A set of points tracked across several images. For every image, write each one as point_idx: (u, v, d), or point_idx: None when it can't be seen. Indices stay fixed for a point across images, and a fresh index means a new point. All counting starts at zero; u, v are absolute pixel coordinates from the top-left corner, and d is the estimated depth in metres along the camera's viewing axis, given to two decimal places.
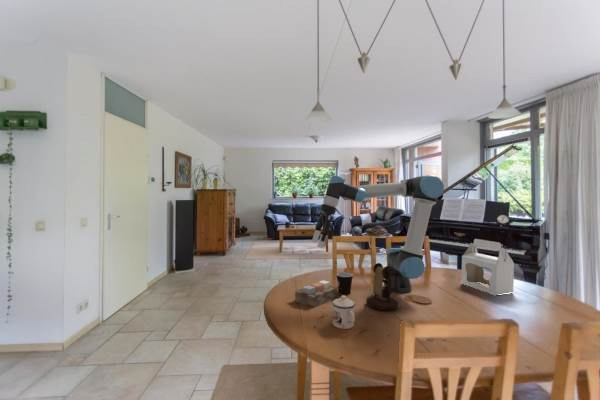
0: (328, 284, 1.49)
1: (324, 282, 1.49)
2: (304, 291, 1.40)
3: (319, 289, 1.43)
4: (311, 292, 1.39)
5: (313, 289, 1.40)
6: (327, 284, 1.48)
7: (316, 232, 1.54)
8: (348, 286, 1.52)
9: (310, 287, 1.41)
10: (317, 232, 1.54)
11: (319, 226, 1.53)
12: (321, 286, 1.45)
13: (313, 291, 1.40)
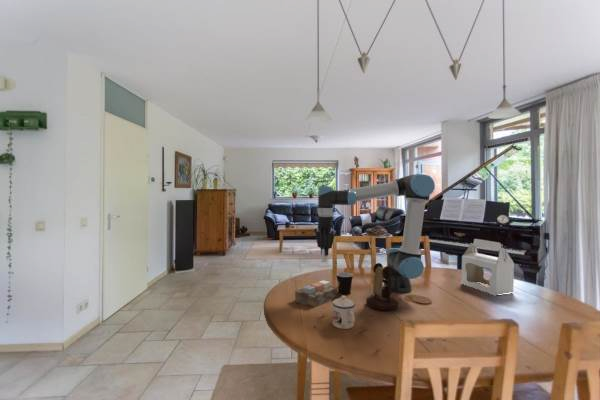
0: (328, 284, 1.49)
1: (324, 282, 1.49)
2: (304, 291, 1.40)
3: (319, 289, 1.43)
4: (311, 292, 1.39)
5: (313, 289, 1.40)
6: (327, 284, 1.48)
7: None
8: (348, 286, 1.52)
9: (310, 287, 1.41)
10: None
11: (323, 242, 1.50)
12: (321, 286, 1.45)
13: (313, 291, 1.40)
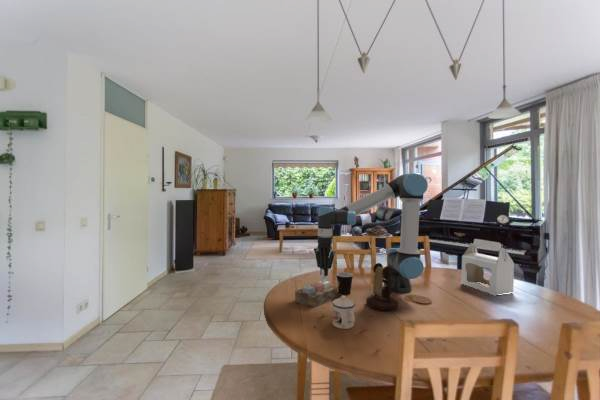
0: (328, 284, 1.49)
1: (324, 282, 1.49)
2: (304, 291, 1.40)
3: (319, 289, 1.43)
4: (311, 292, 1.39)
5: (313, 289, 1.40)
6: (327, 284, 1.48)
7: None
8: (348, 286, 1.52)
9: (310, 287, 1.41)
10: None
11: (323, 262, 1.50)
12: (321, 286, 1.45)
13: (313, 291, 1.40)
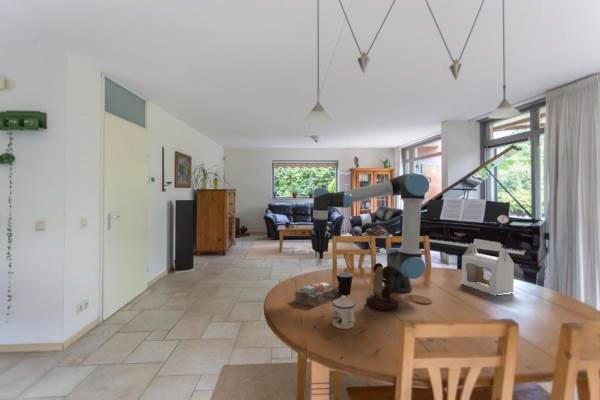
0: (328, 286, 1.49)
1: (324, 284, 1.49)
2: (304, 291, 1.40)
3: (319, 289, 1.43)
4: (311, 292, 1.39)
5: (313, 289, 1.40)
6: (327, 286, 1.48)
7: None
8: (348, 286, 1.52)
9: (310, 287, 1.41)
10: None
11: (318, 245, 1.47)
12: (321, 286, 1.45)
13: (313, 291, 1.40)
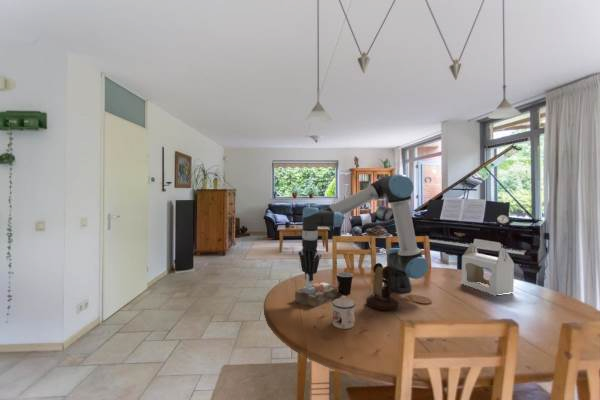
0: (328, 286, 1.49)
1: (324, 284, 1.49)
2: (304, 291, 1.40)
3: (319, 289, 1.43)
4: (311, 292, 1.39)
5: (313, 289, 1.40)
6: (327, 286, 1.48)
7: None
8: (348, 286, 1.52)
9: (310, 287, 1.41)
10: None
11: (307, 266, 1.41)
12: (321, 286, 1.45)
13: (313, 291, 1.40)
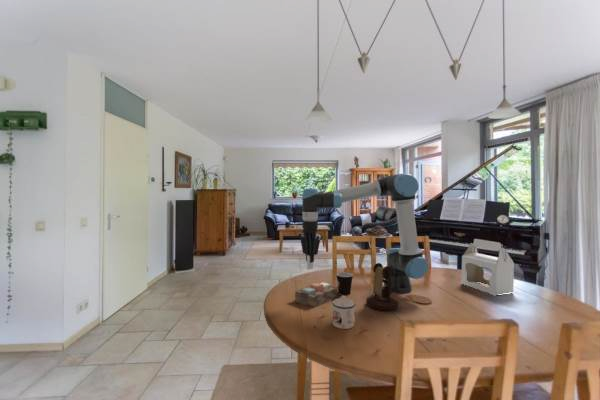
0: (328, 286, 1.49)
1: (324, 284, 1.49)
2: None
3: (319, 289, 1.43)
4: None
5: (313, 291, 1.40)
6: (327, 286, 1.48)
7: None
8: (348, 286, 1.52)
9: (310, 289, 1.41)
10: None
11: (308, 248, 1.41)
12: (321, 286, 1.45)
13: None
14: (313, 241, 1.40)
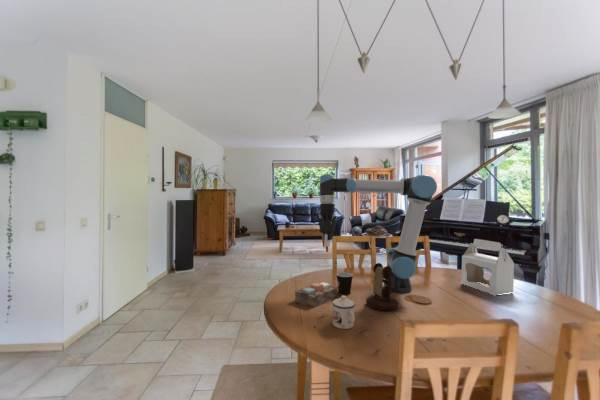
0: (328, 286, 1.49)
1: (324, 284, 1.49)
2: None
3: (319, 289, 1.43)
4: None
5: (313, 291, 1.40)
6: (327, 286, 1.48)
7: None
8: (348, 286, 1.52)
9: (310, 289, 1.41)
10: None
11: (325, 227, 1.58)
12: (321, 286, 1.45)
13: None
14: (330, 221, 1.57)
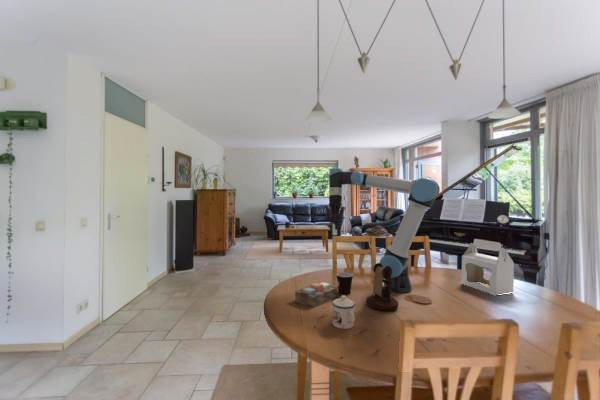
0: (328, 286, 1.49)
1: (324, 284, 1.49)
2: None
3: (319, 289, 1.43)
4: None
5: (313, 291, 1.40)
6: (327, 286, 1.48)
7: None
8: (348, 286, 1.52)
9: (310, 289, 1.41)
10: None
11: (333, 217, 1.70)
12: (321, 286, 1.45)
13: None
14: (338, 212, 1.68)
